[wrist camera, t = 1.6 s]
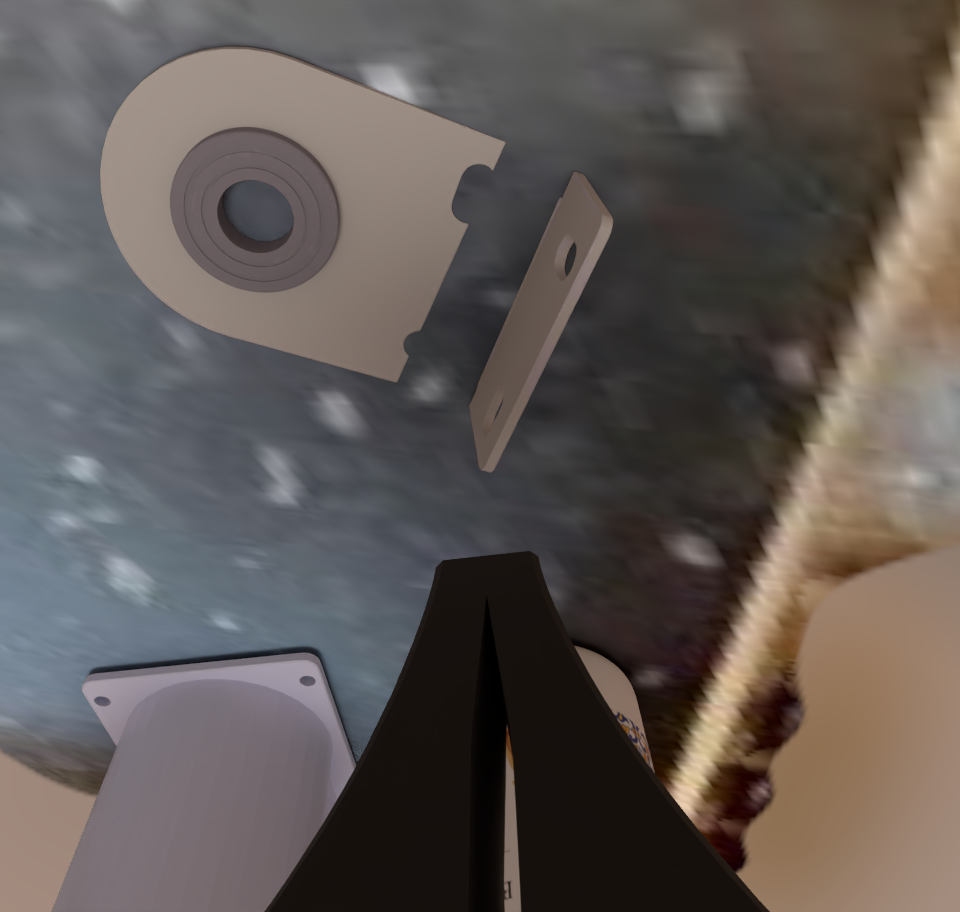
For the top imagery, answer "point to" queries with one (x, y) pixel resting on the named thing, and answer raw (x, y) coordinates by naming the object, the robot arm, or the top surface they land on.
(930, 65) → the top surface
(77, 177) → the top surface
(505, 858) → the bath foam
